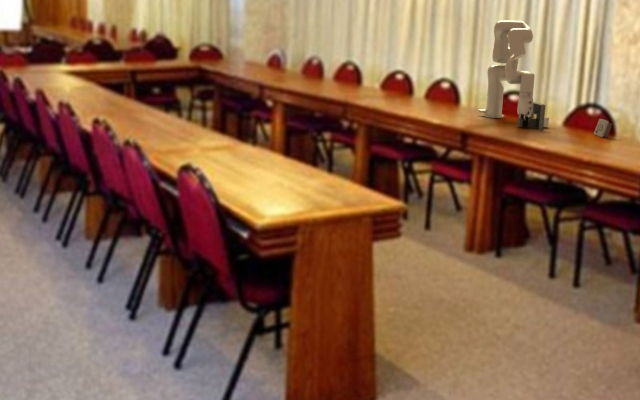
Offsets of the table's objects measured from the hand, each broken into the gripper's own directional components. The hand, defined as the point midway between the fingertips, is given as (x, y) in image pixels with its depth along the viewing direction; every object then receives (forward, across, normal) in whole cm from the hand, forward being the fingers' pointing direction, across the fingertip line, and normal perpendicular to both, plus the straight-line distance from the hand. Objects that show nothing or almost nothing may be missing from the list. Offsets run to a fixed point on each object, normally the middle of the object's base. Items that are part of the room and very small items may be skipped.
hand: (523, 126), depth 496 cm
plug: (+1, 0, -6) cm, 6 cm away
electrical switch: (+1, -33, -29) cm, 44 cm away
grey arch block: (+1, 0, -7) cm, 7 cm away
